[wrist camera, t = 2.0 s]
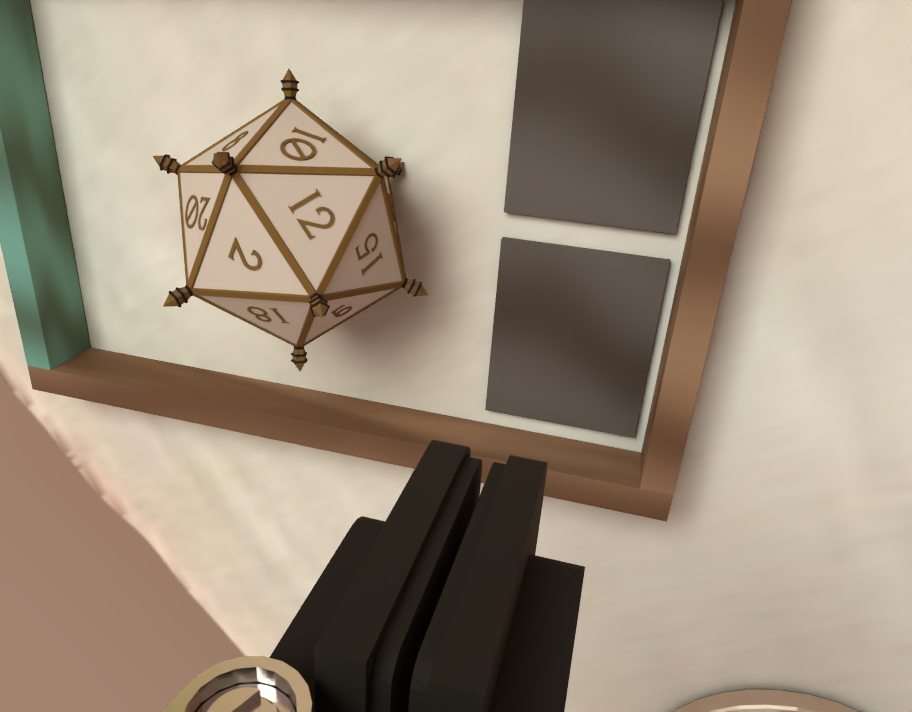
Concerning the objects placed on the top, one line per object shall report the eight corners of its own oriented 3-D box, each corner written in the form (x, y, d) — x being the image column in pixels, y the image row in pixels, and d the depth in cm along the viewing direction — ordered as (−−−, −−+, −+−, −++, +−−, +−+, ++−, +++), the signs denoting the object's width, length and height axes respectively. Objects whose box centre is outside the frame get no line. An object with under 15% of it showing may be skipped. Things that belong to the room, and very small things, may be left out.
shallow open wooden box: (666, 483, 29) (666, 521, 26) (72, 366, 34) (32, 389, 32) (796, -76, 20) (813, -88, 18) (-18, -109, 26) (-81, -121, 24)
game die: (353, 220, 32) (153, 344, 27) (301, 21, 26) (33, 138, 21) (503, 298, 27) (286, 466, 22) (481, 74, 21) (179, 243, 16)
